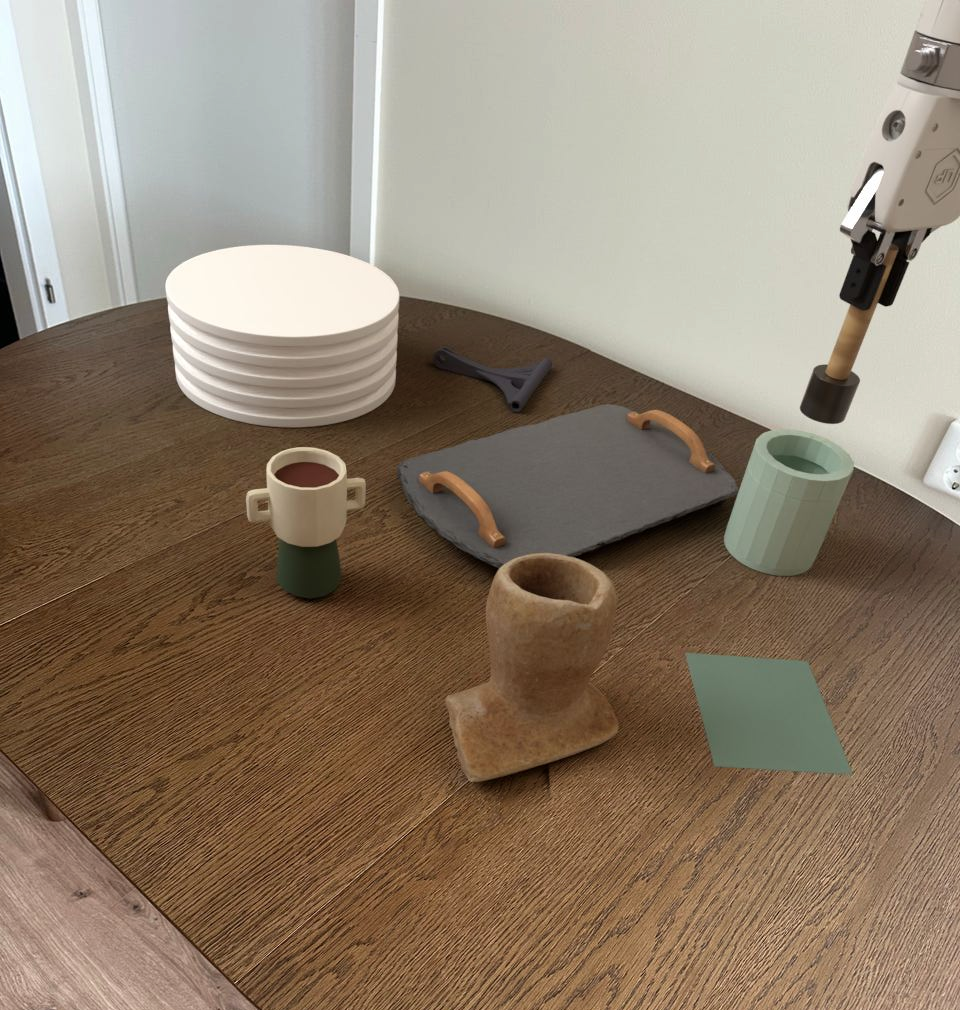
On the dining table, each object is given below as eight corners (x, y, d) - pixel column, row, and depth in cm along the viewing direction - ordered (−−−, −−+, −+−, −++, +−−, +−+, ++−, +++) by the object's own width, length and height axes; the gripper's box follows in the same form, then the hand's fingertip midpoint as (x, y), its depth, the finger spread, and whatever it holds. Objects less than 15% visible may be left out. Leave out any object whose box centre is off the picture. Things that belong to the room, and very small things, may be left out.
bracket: (452, 345, 134) (453, 326, 133) (551, 370, 132) (554, 351, 130) (414, 387, 124) (415, 367, 122) (520, 414, 121) (523, 395, 119)
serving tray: (492, 606, 92) (500, 555, 88) (369, 489, 105) (370, 440, 101) (754, 504, 111) (770, 458, 107) (622, 415, 124) (632, 371, 120)
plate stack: (314, 312, 138) (313, 231, 130) (438, 391, 124) (445, 305, 116) (135, 355, 122) (122, 267, 115) (254, 451, 108) (248, 357, 100)
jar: (800, 525, 108) (837, 433, 100) (824, 579, 101) (867, 484, 93) (715, 519, 108) (746, 425, 100) (734, 572, 100) (768, 476, 92)
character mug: (353, 553, 96) (355, 440, 87) (373, 596, 91) (377, 481, 82) (245, 569, 92) (236, 452, 83) (260, 614, 87) (252, 496, 79)
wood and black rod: (837, 404, 94) (901, 239, 83) (850, 426, 90) (919, 257, 80) (794, 400, 93) (853, 234, 83) (806, 422, 90) (869, 252, 79)
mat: (806, 665, 90) (808, 660, 90) (850, 779, 80) (853, 774, 79) (683, 657, 89) (685, 652, 89) (712, 770, 79) (714, 766, 78)
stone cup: (564, 659, 87) (593, 525, 77) (631, 750, 79) (674, 615, 69) (412, 697, 81) (423, 559, 71) (469, 800, 74) (490, 660, 64)
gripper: (926, 81, 66) (834, 331, 79) (1058, 78, 74) (954, 308, 86) (847, 56, 71) (771, 296, 83) (978, 56, 78) (890, 277, 90)
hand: (865, 300), depth 84 cm, fingers closed on wood and black rod, 2 cm apart
